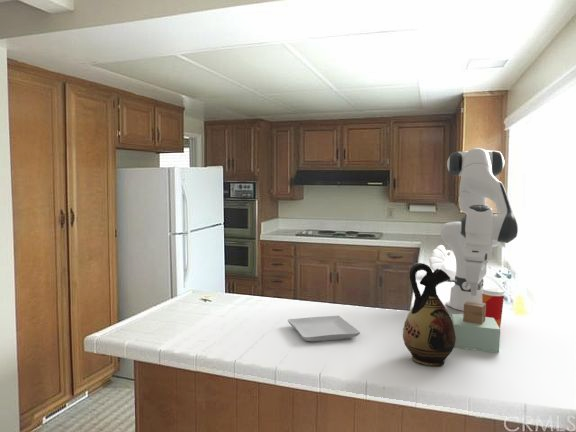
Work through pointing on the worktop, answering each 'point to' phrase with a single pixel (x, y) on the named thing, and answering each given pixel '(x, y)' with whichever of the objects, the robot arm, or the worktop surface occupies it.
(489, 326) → the sage box
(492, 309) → the coffee cup
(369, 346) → the worktop surface
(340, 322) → the salad plate
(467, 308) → the walnut block
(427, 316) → the ceramic jug
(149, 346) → the worktop surface
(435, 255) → the decorative rooster
